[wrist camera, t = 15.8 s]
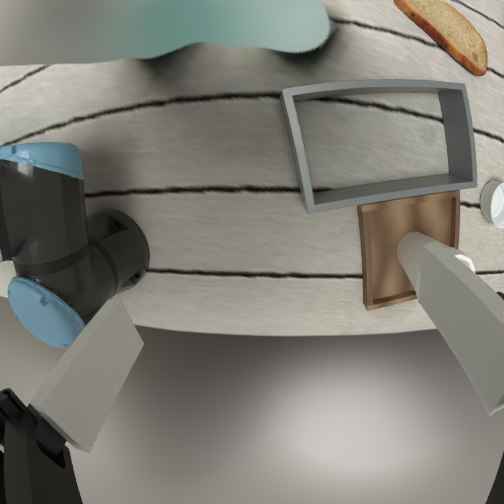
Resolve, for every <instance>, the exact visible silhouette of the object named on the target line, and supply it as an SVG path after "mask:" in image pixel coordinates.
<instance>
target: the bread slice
mask: <svg viewBox="0 0 504 504" xmlns="http://www.w3.org/2000/svg"><path fill="white" fill-rule="evenodd" d="M394 3H395V5H396V6H397V7H398V8H399V9H400V10H401V11H402V12H403V13H404V14H405V15H407V16H408V17H409V18H410V19H411V20H412V21H413V22H414V23H416V24H417V25H418V26H419V27H420V28H421V29H423V30H424V31H425V32H426V33H427V34H428V35H429V36H431V37H432V38H433V39H434V40H435V41H436V42H437V43H438V44H439V45H440V46H441V47H442V48H443V49H444V50H445V51H447V52H448V53H449V54H450V55H451V56H452V57H453V58H454V59H455V60H457V61H458V62H459V63H461V64H462V65H463V66H465V67H466V68H467V69H468V70H469V71H471V72H472V73H473V74H475V75H477V76H483V75H484V74H485V73H486V70H487V51H486V47H485V44H484V41H483V39H482V37H481V36H480V35H479V33H478V32H477V31H476V30H475V28H474V27H473V26H472V25H471V23H470V22H469V21H468V20H467V19H466V18H465V17H464V16H463V15H462V14H460V13H459V12H458V11H457V10H456V9H455V8H453V7H452V6H450V5H449V4H447V3H444V2H442V1H440V0H394Z"/></svg>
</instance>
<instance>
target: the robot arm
mask: <svg viewBox="0 0 504 504" xmlns="http://www.w3.org/2000/svg"><path fill="white" fill-rule="evenodd" d="M84 181H85V177H84V176H83V171H82V158H81V152H80V150H79V149H78V147H77V146H75V145H74V144H71V143H59V142H43V143H26V144H20V145H9V146H3V147H1V148H0V262H3V261H5V260H8V259H10V258H12V259H13V263H14V266H15V270H16V274H17V277H14V278H13V279H12V280H11V282H10V284H9V286H8V298H9V301H10V304H11V307H12V309H13V310H14V312H15V314H16V316H17V317H18V319H19V320H20V321H21V322H22V324H23V325H24V326H25V327H26V328H27V329H28V330H29V331H30V332H31V333H32V334H33V335H34V336H35V337H37V338H38V339H39V340H41V341H43V342H44V343H46V344H48V345H50V346H53V347H57V348H67V347H69V348H68V350H67V351H66V353H65V354H64V355H63V356H62V358H61V359H60V360H59V362H58V363H57V364H56V366H55V367H54V368H53V370H52V371H51V372H50V374H49V375H48V377H47V378H46V379H45V381H44V382H43V384H42V385H41V386H40V388H39V389H38V391H37V392H36V394H35V395H34V397H33V398H32V400H31V401H30V404H29V405H28V407H26V406H25V405H24V404H23V403H22V402H21V400H20V399H19V398H18V397H17V396H16V395H15V393H14V392H13V391H12V390H11V389H9V388H7V389H4V390H2V391H0V444H1V445H2V446H3V447H4V453H3V452H2V451H0V504H83V503H82V499H81V496H80V493H79V489H78V486H77V482H76V478H75V474H74V470H73V465H72V461H71V456H70V452H69V449H68V447H67V446H65V443H66V441H68V442H69V443H70V444H71V445H72V446H74V447H75V448H76V449H78V450H81V451H84V452H86V453H90V452H91V449H92V447H93V445H94V442H95V441H96V438H97V436H98V434H99V432H100V430H101V428H102V425H103V423H104V421H105V419H106V417H107V415H108V413H109V411H110V409H111V407H112V405H113V403H114V401H115V399H116V397H117V395H118V393H119V391H120V389H121V387H122V385H123V383H124V381H125V379H126V377H127V375H128V373H129V371H130V369H131V368H132V366H133V364H134V362H135V360H136V358H137V356H138V354H139V353H140V351H141V349H142V347H143V345H144V343H143V341H142V339H141V337H140V336H139V334H138V332H137V330H136V328H135V326H134V324H133V322H132V320H131V318H130V316H129V314H128V312H127V310H126V308H125V306H124V304H123V302H122V300H121V298H116V299H111V298H112V297H113V296H114V295H116V294H119V293H121V292H123V291H126V290H128V289H130V288H132V287H134V286H135V285H136V284H137V283H138V282H139V281H140V280H141V278H142V277H143V276H144V275H145V273H146V271H147V268H148V265H149V248H148V244H147V241H146V239H145V236H144V234H143V233H142V231H141V229H140V228H139V227H138V225H137V224H136V223H135V222H134V221H133V220H132V219H131V218H129V217H128V216H127V215H125V214H123V213H121V212H119V211H115V210H101V211H98V212H96V213H94V214H92V215H91V216H89V217H88V218H86V208H85V195H84ZM418 302H419V303H420V304H421V306H422V307H423V309H424V310H425V311H426V313H427V314H428V316H429V317H430V318H431V320H432V321H433V323H434V324H435V326H436V327H437V328H438V330H439V331H440V333H441V334H442V336H443V337H444V339H445V340H446V342H447V343H448V345H449V346H450V348H451V350H452V351H453V353H454V354H455V356H456V358H457V359H458V361H459V362H460V364H461V366H462V367H463V369H464V371H465V372H466V374H467V376H468V378H469V379H470V381H471V383H472V384H473V386H474V388H475V390H476V392H477V394H478V395H479V397H480V399H481V401H482V403H483V405H484V407H485V409H486V411H487V412H488V415H489V416H490V415H492V414H493V413H495V412H496V411H498V410H500V409H502V408H503V407H504V294H503V293H501V292H497V293H496V292H495V291H494V290H493V289H492V288H491V287H490V286H489V285H487V284H486V283H485V282H484V281H483V280H482V279H481V278H480V277H479V276H478V275H476V274H475V273H474V272H473V271H472V270H471V269H470V268H468V267H467V266H466V265H465V264H464V263H463V262H461V261H460V260H459V259H458V258H457V257H455V256H454V255H453V254H452V253H450V252H449V251H448V250H447V249H445V248H444V247H443V246H442V245H440V244H439V243H438V242H433V243H428V244H424V245H422V260H421V277H420V289H419V299H418ZM485 504H504V453H503V456H502V459H501V463H500V466H499V469H498V472H497V475H496V478H495V481H494V484H493V486H492V489H491V491H490V494H489V496H488V499H487V501H486V503H485Z"/></svg>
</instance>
